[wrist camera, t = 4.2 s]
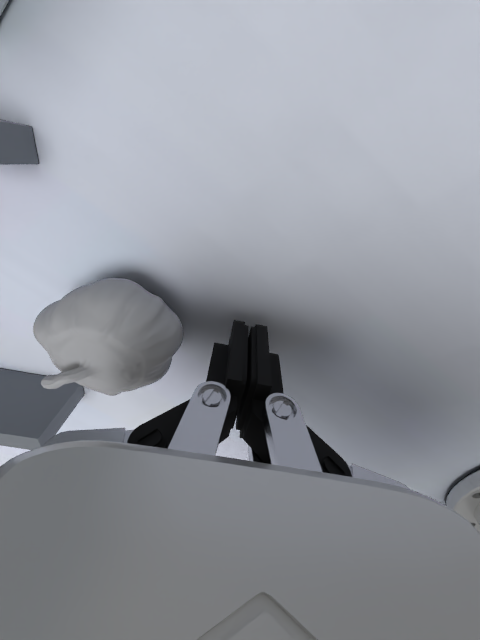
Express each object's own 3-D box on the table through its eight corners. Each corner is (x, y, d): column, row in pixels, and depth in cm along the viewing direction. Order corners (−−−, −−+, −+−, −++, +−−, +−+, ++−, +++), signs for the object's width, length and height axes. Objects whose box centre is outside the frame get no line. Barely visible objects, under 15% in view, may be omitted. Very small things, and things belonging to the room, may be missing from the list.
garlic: (85, 342, 15) (14, 418, 10) (69, 252, 12) (-38, 305, 8) (187, 359, 15) (160, 440, 11) (195, 276, 12) (162, 339, 8)
